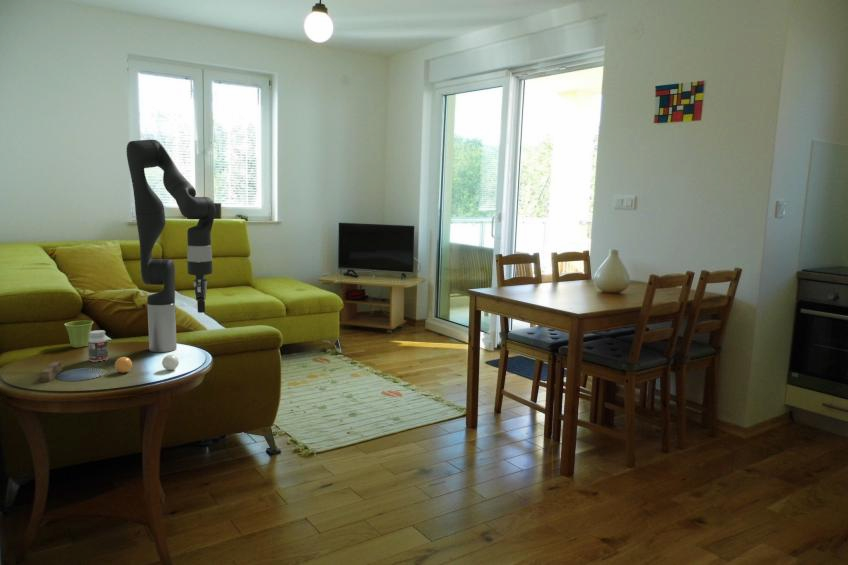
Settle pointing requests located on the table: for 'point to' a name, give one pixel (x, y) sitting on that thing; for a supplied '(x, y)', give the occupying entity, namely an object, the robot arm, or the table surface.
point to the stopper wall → (51, 371)
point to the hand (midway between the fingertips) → (201, 312)
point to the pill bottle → (98, 346)
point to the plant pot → (79, 332)
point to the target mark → (78, 374)
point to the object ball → (123, 364)
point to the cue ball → (170, 362)
